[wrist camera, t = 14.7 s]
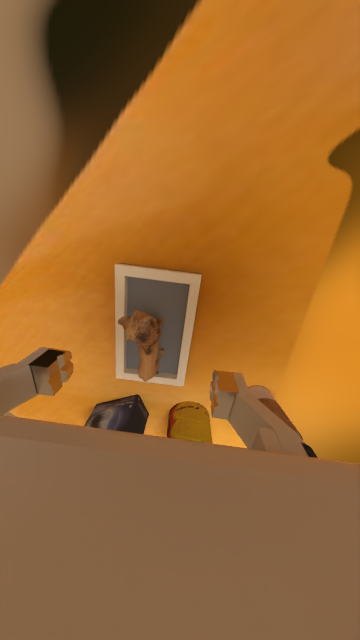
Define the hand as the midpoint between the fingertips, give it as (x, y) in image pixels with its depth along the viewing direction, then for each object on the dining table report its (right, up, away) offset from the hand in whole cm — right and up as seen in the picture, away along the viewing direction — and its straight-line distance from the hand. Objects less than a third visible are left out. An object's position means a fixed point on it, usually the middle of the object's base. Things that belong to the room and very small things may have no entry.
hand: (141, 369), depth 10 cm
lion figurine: (-3, 0, +23) cm, 23 cm away
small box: (-11, -17, +31) cm, 37 cm away
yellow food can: (+4, -19, +31) cm, 37 cm away
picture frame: (-2, +1, +23) cm, 23 cm away
